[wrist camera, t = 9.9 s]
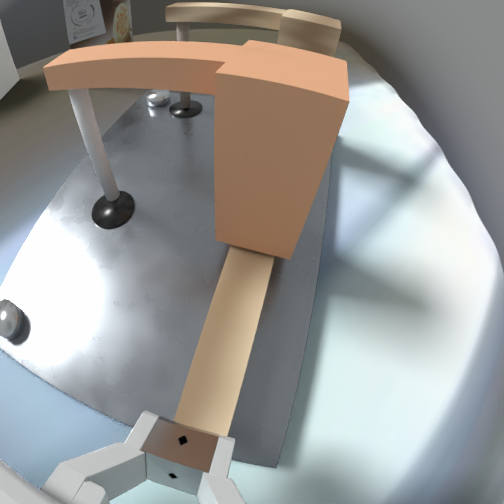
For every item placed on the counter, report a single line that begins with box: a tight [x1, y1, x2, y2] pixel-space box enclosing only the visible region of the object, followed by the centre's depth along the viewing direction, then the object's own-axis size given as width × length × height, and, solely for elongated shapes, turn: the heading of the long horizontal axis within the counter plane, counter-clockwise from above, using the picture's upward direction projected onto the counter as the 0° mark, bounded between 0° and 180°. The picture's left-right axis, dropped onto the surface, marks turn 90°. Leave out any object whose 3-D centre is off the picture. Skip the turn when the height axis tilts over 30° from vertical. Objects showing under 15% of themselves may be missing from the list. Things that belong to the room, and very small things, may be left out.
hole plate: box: [0, 89, 332, 468], centre depth 19 cm, size 20×28×2 cm
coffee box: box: [63, 0, 133, 49], centre depth 26 cm, size 9×6×16 cm
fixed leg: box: [166, 3, 341, 436], centre depth 14 cm, size 13×26×11 cm, turn 166°
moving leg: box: [43, 40, 349, 260], centre depth 13 cm, size 13×4×10 cm, turn 76°
